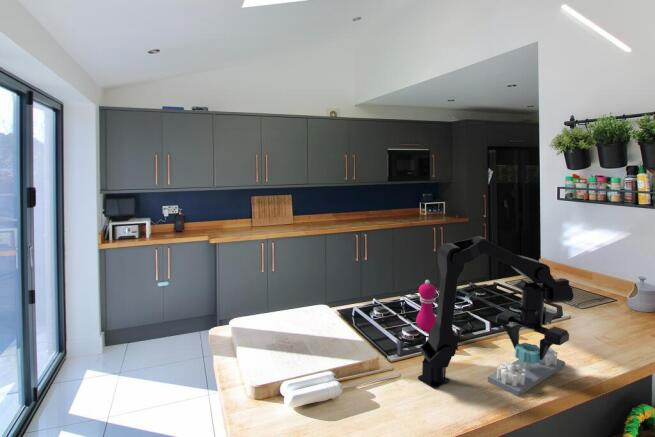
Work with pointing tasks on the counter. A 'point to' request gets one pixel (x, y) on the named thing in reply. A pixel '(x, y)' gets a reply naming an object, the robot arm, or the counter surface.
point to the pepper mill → (426, 307)
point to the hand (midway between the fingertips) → (528, 354)
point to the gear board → (529, 376)
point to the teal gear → (528, 353)
